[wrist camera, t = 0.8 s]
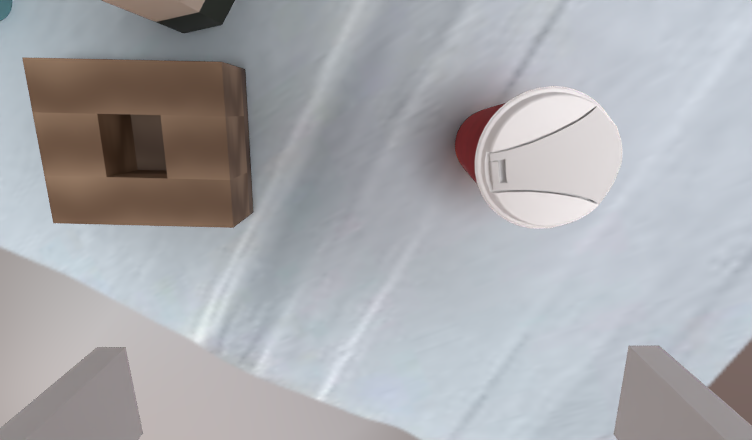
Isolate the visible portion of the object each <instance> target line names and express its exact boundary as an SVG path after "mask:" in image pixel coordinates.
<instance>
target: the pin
mask: <svg viewBox="0 0 752 440" xmlns="http://www.w3.org/2000/svg"><path fill="white" fill-rule="evenodd" d="M11 7H12V0H0V20H3V19H4V18H6V17H7V16H8V14H9V13H10V10H11Z"/></svg>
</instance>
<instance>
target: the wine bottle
mask: <svg viewBox="0 0 752 440" xmlns="http://www.w3.org/2000/svg"><path fill="white" fill-rule="evenodd" d="M102 1H105V2H107V3H110V4H112V5H115V6H117V7H120V8H122V9H125V10H127V11H130V12H132V13H135V14H137V15H140V16H142V17H145V18H147V19H150V20H152V21H155V22H157V23H160V24H162V25H165V26H167V27H170V28H172V29H175V30H177V31H180V32H182V33H187V32H192V31H196V30H200V29H205V28H209V27H214V26H218V25H222V24H223V22H224V20H225V18H226V16H227V14H228V12H229V10H230V8H231V6H232V4H233V2H234V1H235V0H102Z"/></svg>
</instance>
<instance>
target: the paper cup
mask: <svg viewBox="0 0 752 440" xmlns="http://www.w3.org/2000/svg"><path fill="white" fill-rule="evenodd" d="M455 151H456V155H457V158H458V160H459V162H460V164H461V165H462V166H463V168H464V169H465V170H466V172H467V173H468V174H469V175H470V176H471V177H472V179H473V180H474V181H475V182H476V183H477V184H478V187H479V190H480V192H481V194H482V196H483V198H484V199H485V201H486V202H487V204H488V205H489V206H490V207H491V209H492V210H494V211H495V212H496V213H497V214H498V215H499V216H501V217H502V218H504V219H505V220H507V221H509V222H511V223H513V224H516V225H518V226H522V227H527V228H536V229H542V228H552V227H556V226H561V225H564V224H568V223H570V222H573V221H576V220H578V219H580V218H582V217H584V216H585V215H587V214H588V213H590V212H591V211H593V210H594V209H595V208H596V207H597V206H598V205H599V204H600V203H601V201H602V200H603V199H604V197H605V196H606V194H607V193H608V191H609V190H610V188H611V187H612V185H613V184H614V181H615V179H616V176H617V174H618V171H619V169H620V167H621V163H622V142H621V138H620V135H619V132H618V129H617V126H616V125H615V124H614V122H613V121H612V120H611V118H610V117H609V116H608V114H607V113H606V111H605V110H604V108H602V107H601V106H600V105H599V104H598V103H597V102H596V101H595V100H594V99H592V98H591V97H589V96H588V95H587V94H584V93H582V92H580V91H578V90H575V89H571V88H567V87H557V86H550V87H541V88H537V89H533V90H529V91H527V92H524V93H522V94H520V95H518V96H516V97H514V98H513V99H511V100H509V101H508V102H507V103H504V104H501V105H497V106H494V107H490V108H487V109H484V110H481V111H479V112H477V113H475V114H473V115H471V116H470V117H469V118H467V119H466V120H465V121H464V123H463V124H462V125H461V127H460V128H459V130H458V133H457V135H456V140H455ZM597 203H598V204H597Z"/></svg>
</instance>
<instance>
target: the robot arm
mask: <svg viewBox="0 0 752 440" xmlns="http://www.w3.org/2000/svg"><path fill="white" fill-rule="evenodd" d="M142 434H143V431H142V426H141V421H140V416H139V412H138V406H137V401H136V397H135V392H134V387H133V382H132V377H131V372H130V367H129V362H128V357H127V352H126V347H97V348H96V349H94V350H93V351H92V352H91V353H90V354H89V355H87V356H86V357H85V358H84V359H82V360H81V361H80V362H79V363H78V364H76V365H75V366H74V367H73V368H72V369H70V370H69V371H68V372H67V373H66V374H64V375H63V376H62V377H61V378H60V379H58V380H57V381H56V382H55V383H54V384H53V385H51V386H50V387H49V388H48V389H46V390H45V391H44V392H43V393H42V394H40V395H39V396H38V397H37V398H36V399H34V400H33V401H32V402H31V403H30V404H28V405H27V406H26V407H25V408H24V409H22V410H21V411H20V412H19V413H18V414H16V415H15V416H14V417H13V418H12V419H10V420H9V421H8V422H7V423H6V424H5V425H3V426H2V427H1V428H0V440H138V439H139V438H140V436H141V435H142ZM614 435H615V437H616V438H617V439H618V440H752V426H751V425H750V424H749V423H748V422H747V421H746V420H745V419H743V418H742V417H741V416H740V415H739V414H738V413H736V412H735V411H734V410H733V409H732V408H731V407H730V406H728V405H727V404H726V403H725V402H723V400H721V399H720V398H719V397H718V396H717V395H716V394H714V393H713V392H712V391H711V390H710V389H709V388H708V387H706V386H705V385H704V384H703V383H702V382H701V381H699V380H698V379H697V378H696V377H695V376H694V375H692V374H691V373H690V372H689V371H688V370H687V369H685V368H684V367H683V366H682V365H681V364H680V363H679V362H677V361H676V360H675V359H674V358H673V357H672V356H670V355H669V354H668V353H667V352H666V351H665V350H663V349H662V348H661V347H660V346H629V347H628V353H627V359H626V365H625V371H624V377H623V383H622V388H621V394H620V400H619V406H618V412H617V418H616V424H615V430H614Z"/></svg>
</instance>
